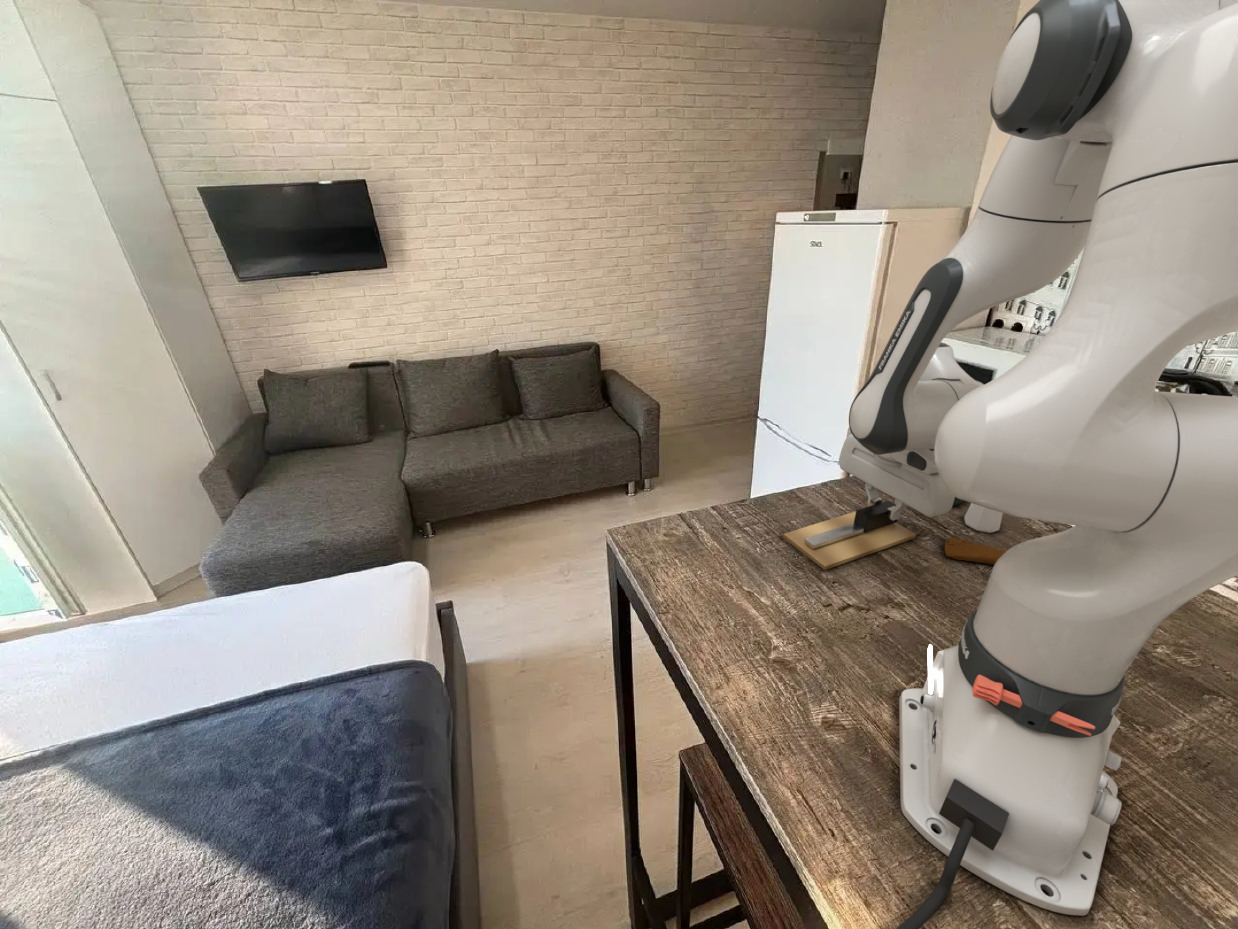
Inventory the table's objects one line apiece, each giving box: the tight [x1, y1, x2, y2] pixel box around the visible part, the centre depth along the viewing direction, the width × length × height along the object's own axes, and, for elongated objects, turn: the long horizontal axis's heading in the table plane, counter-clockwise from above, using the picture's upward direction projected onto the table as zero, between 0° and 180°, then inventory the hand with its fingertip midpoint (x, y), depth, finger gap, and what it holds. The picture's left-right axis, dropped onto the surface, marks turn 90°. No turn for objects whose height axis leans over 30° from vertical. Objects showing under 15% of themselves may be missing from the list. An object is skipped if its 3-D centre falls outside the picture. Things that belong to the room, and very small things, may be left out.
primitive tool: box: [944, 537, 1008, 566], centre depth 79 cm, size 19×6×4 cm, turn 61°
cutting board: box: [782, 510, 917, 571], centre depth 88 cm, size 20×10×1 cm, turn 113°
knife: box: [804, 500, 898, 549], centre depth 87 cm, size 18×3×3 cm, turn 113°
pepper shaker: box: [963, 503, 1004, 534], centre depth 88 cm, size 5×5×11 cm
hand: (882, 512), depth 89 cm, fingers closed on knife, 2 cm apart
